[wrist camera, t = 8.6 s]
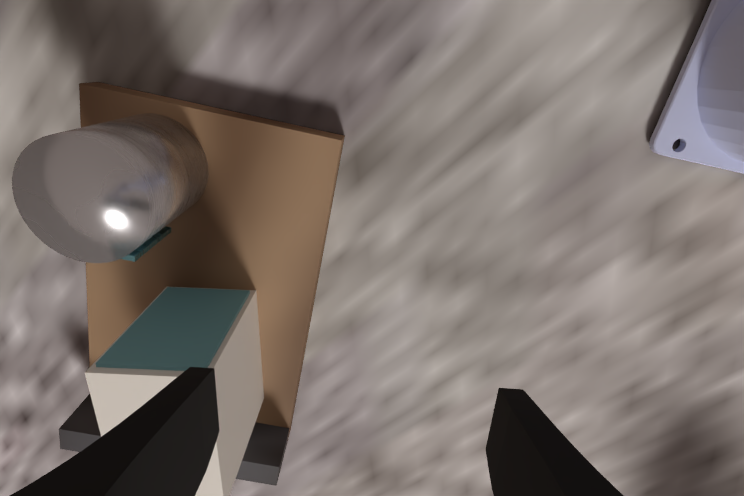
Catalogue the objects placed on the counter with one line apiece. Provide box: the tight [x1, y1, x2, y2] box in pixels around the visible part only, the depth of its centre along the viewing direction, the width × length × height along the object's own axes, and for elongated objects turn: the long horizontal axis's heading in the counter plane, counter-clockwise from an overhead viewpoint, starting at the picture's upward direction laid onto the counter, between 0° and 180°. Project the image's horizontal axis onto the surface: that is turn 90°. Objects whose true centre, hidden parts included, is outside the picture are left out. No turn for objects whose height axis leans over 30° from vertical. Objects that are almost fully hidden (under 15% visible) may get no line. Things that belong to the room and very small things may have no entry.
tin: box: [12, 113, 208, 263], centre depth 16 cm, size 4×4×5 cm
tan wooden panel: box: [59, 82, 345, 485], centre depth 20 cm, size 10×16×4 cm, turn 168°
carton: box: [85, 287, 264, 496], centre depth 19 cm, size 6×4×6 cm, turn 178°
